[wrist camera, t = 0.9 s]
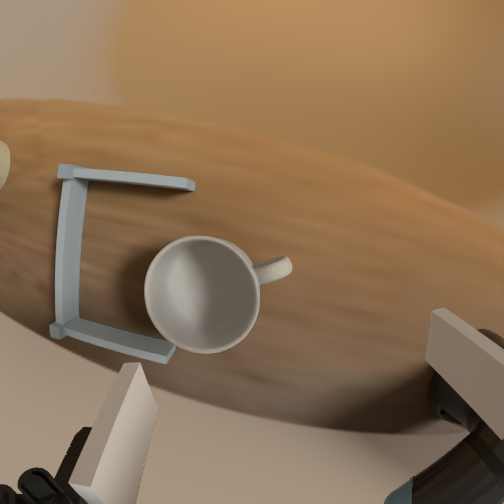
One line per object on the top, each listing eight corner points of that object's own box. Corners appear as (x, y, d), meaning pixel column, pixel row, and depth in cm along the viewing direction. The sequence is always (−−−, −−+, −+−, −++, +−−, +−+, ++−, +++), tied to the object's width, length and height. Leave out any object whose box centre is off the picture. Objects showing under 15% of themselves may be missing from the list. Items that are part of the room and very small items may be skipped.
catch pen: (196, 180, 33) (185, 173, 28) (175, 352, 35) (163, 371, 30) (82, 169, 33) (59, 163, 28) (71, 323, 35) (50, 336, 30)
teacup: (176, 329, 35) (156, 357, 27) (159, 239, 34) (131, 245, 26) (294, 315, 34) (303, 342, 27) (281, 220, 33) (288, 221, 25)
